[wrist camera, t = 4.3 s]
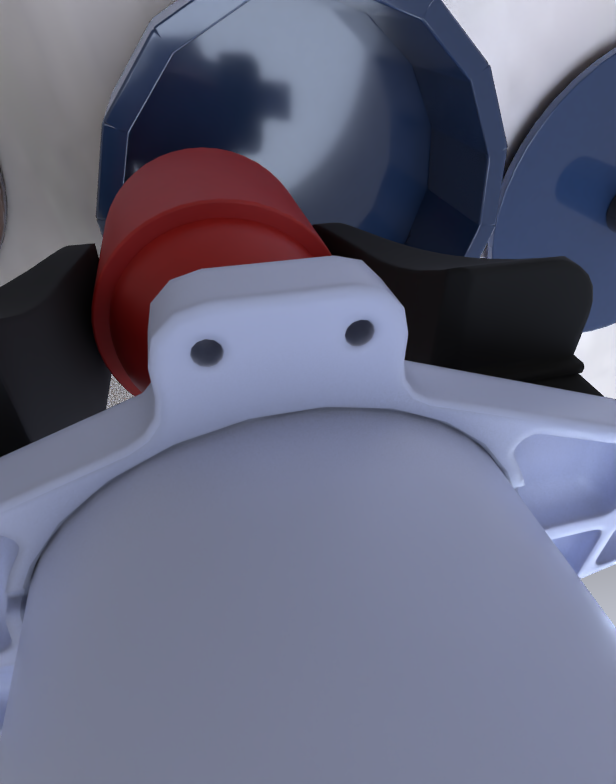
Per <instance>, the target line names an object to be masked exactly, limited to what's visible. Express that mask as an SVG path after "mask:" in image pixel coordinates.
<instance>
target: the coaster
mask: <svg viewBox="0 0 616 784" xmlns="http://www.w3.org/2000/svg"><path fill="white" fill-rule="evenodd" d="M6 215H7V204H6V194H5V186H4V182H3V178H2V174H1V170H0V247H1V245H2V242H3V237H4V233H5V228H6Z"/></svg>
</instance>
